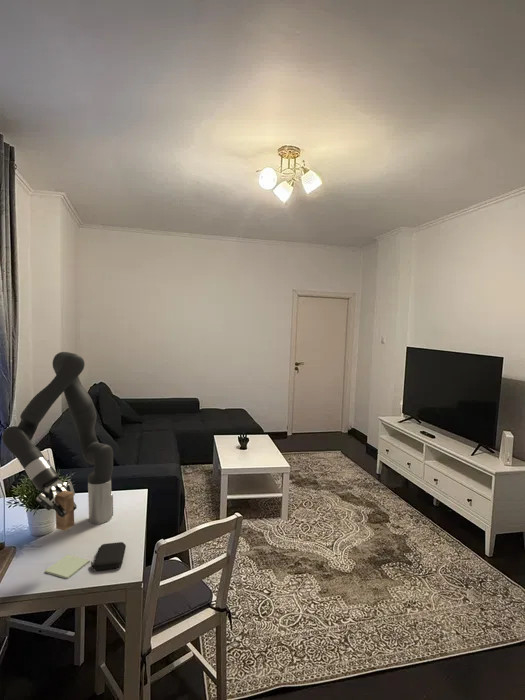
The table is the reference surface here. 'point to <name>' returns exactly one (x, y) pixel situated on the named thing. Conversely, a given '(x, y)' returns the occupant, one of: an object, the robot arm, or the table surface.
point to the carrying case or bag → (109, 557)
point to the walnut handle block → (68, 505)
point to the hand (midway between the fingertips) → (69, 512)
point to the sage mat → (67, 566)
